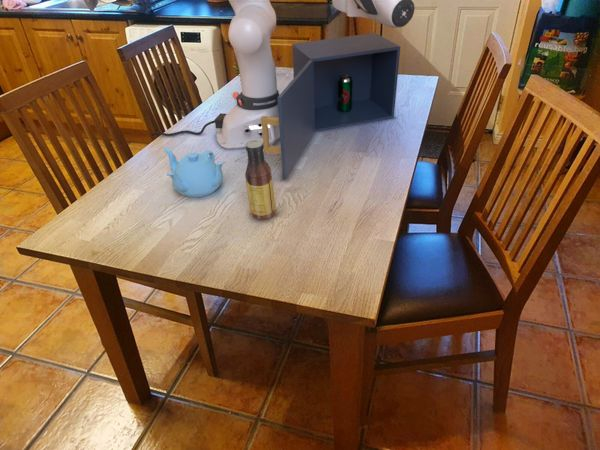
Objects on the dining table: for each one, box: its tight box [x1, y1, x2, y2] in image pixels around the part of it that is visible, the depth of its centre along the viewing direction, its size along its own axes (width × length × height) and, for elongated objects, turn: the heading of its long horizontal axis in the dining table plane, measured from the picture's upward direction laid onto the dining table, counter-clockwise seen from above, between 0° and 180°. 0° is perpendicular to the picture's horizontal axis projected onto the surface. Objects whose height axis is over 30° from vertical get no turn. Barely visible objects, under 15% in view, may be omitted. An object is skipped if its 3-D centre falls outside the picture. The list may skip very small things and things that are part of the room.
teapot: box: [163, 147, 226, 198], centre depth 123 cm, size 15×15×10 cm
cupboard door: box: [261, 60, 315, 181], centre depth 132 cm, size 7×30×24 cm, turn 163°
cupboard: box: [291, 32, 401, 133], centre depth 154 cm, size 18×30×24 cm, turn 108°
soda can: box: [337, 75, 353, 113], centre depth 159 cm, size 5×5×12 cm
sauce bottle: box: [244, 139, 276, 221], centre depth 109 cm, size 7×6×20 cm
